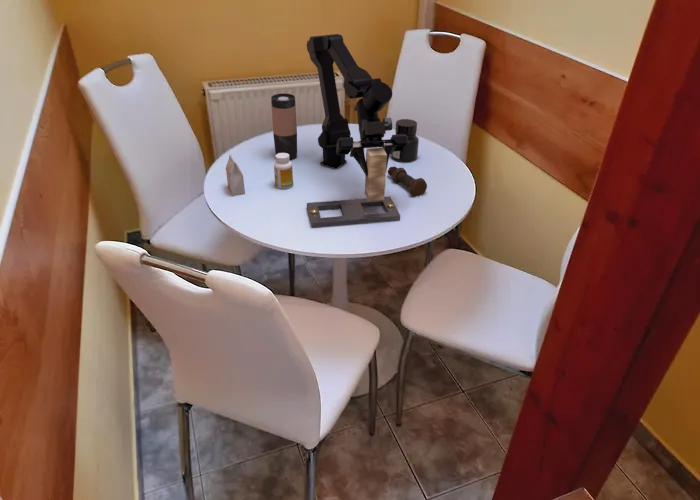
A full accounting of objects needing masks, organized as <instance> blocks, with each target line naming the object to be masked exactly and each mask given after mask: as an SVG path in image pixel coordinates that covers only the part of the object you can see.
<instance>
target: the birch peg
mask: <svg viewBox="0 0 700 500" xmlns="http://www.w3.org/2000/svg"><path fill="white" fill-rule="evenodd" d="M365 149H366V153H365V160H366V164H367V169H368V176H366V175H365V174H364V176H365V179H364V194H365V196H366V197H365V198H367V199H368V201H371V200H384V197H385V195H386V194H385V192H386V179H387V178H386V176H387V175H386V174H387V170H386V162H387V154H386V152H385V151H384V149H383V147H377V148H365Z"/></svg>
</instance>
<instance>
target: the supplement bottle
mask: <svg viewBox="0 0 700 500" xmlns="http://www.w3.org/2000/svg"><path fill="white" fill-rule="evenodd" d="M289 159H290V158H289V154H287V153H278V154H275V161H274V163H273V173H274V184H275V187H276V188H277V189H280V190H287V189H290V188H292V187H293V186H294V174H293V162H292V160H291V161H289Z"/></svg>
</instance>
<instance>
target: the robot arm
mask: <svg viewBox="0 0 700 500" xmlns="http://www.w3.org/2000/svg"><path fill="white" fill-rule="evenodd" d="M306 49H307V53H308V55H309V59H310V61H311V62H312V63H313V64H314V66H315V67H316V70H317V74H318V79H319V80H318V81H319V87H320V92H321V93H320V94H321V97H322V98H321V99H322V104H323V109H324V110H323V112H324V118H323V119H324V120H323V121H322V124H321V131H322V132H321V133H320V134H319V136H318V138H317V142H318V146H319V148H321V149H322V160H321V161H320V162H319V164H320V166H325V167H327V168H332V169H339V168H340V167H342V166H343V165H345V164H347V160H346V156H347V155H349V157H350V158H354V159H355V161H356V162H357V163H358V165H359V166H360V168H361V170H362V172H363V173H364V176H365V175H366V176H368V169H367V164H366V154H365V149H371V148H383V149H384V151H385V152H386V154H387V162H386V171H388V169H387V168H388V164H389V160H390V159H389V158H390V157H391V154H392V153H393V152H394V151H403V150H404V149H405V148H406V146H407V145H408V143H409V142H408V137H407V136H406V135H405V134H397V135H395V134H392V135H391V137H390V139H383V138H384V137H385V135H386V134H387V133H386V132H387V131H389V132H390V131H392V130H393V121H392V117H383V118H382V121H381V118H380V116H379V112H380V111H382V110H383V109H384V107H386V105H387V104H388V103H389V102H390V101H391V100H392V97H393V90H392V88H391V87H390V86H389V85H388V84H387V83H385V82H383V81H382V79H381V78H380V77H378V78H373V77H372V75H370V73H369V72H368V71H367V69H364V68H362V67H360V66H359V65H358V63H357V62H356V60H355V58H354V57H353V56H352V53H351V52H350V51H349V49H348V46H346V44H345V42H344V37H343V35H342V34H339V33H333V34H324V35H314V36H310V37H309V39H308V40H307V41H306ZM334 64H335V65H336V67H337V68H338V70H339V72H340V74H341V76H342V78H343V84H342V86H343V89H344V93H345V95H346V96H347V97H348V99H350V100H351V99H359V100H357V102H356V103H355V106H354V111H355V112H356V117H357V124H358V132H359V139H360V140H354V138H353V136H351V135H352V133H351V130H350V126H349V120H348V118H344V116H343V115H342V113H341V108H340V102H339V95H338V89H337V83H336V77H335V71H334Z"/></svg>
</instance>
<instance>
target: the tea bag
mask: <svg viewBox="0 0 700 500" xmlns="http://www.w3.org/2000/svg"><path fill="white" fill-rule="evenodd" d="M225 173H226V174H225V175H226V181H227V187H228V189H229V191H230V194H231V196H232V197H237V196H241V195H246V191H245V189H246V188H245V181H244V175H243V172H242V171H241V169H240V167H239V165H238V163H237V162H236V161H235V160H234V158H233V156H232V154H229V157H228V161H227V162H226V166H225Z"/></svg>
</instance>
